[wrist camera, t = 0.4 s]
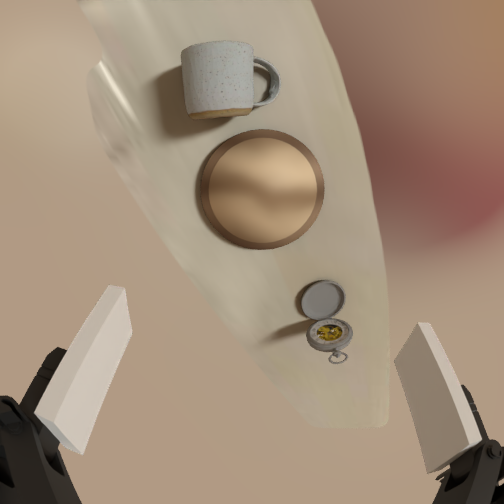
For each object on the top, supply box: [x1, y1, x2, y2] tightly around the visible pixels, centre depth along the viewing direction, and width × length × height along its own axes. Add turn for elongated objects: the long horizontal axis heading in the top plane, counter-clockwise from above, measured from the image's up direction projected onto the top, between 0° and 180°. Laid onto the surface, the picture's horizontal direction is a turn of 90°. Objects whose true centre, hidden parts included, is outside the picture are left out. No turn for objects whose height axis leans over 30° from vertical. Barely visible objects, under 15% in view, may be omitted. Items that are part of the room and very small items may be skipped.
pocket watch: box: [301, 280, 353, 364], centre depth 38 cm, size 8×8×10 cm
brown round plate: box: [201, 129, 324, 250], centre depth 35 cm, size 15×15×1 cm
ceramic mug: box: [181, 41, 281, 120], centre depth 27 cm, size 11×8×8 cm
